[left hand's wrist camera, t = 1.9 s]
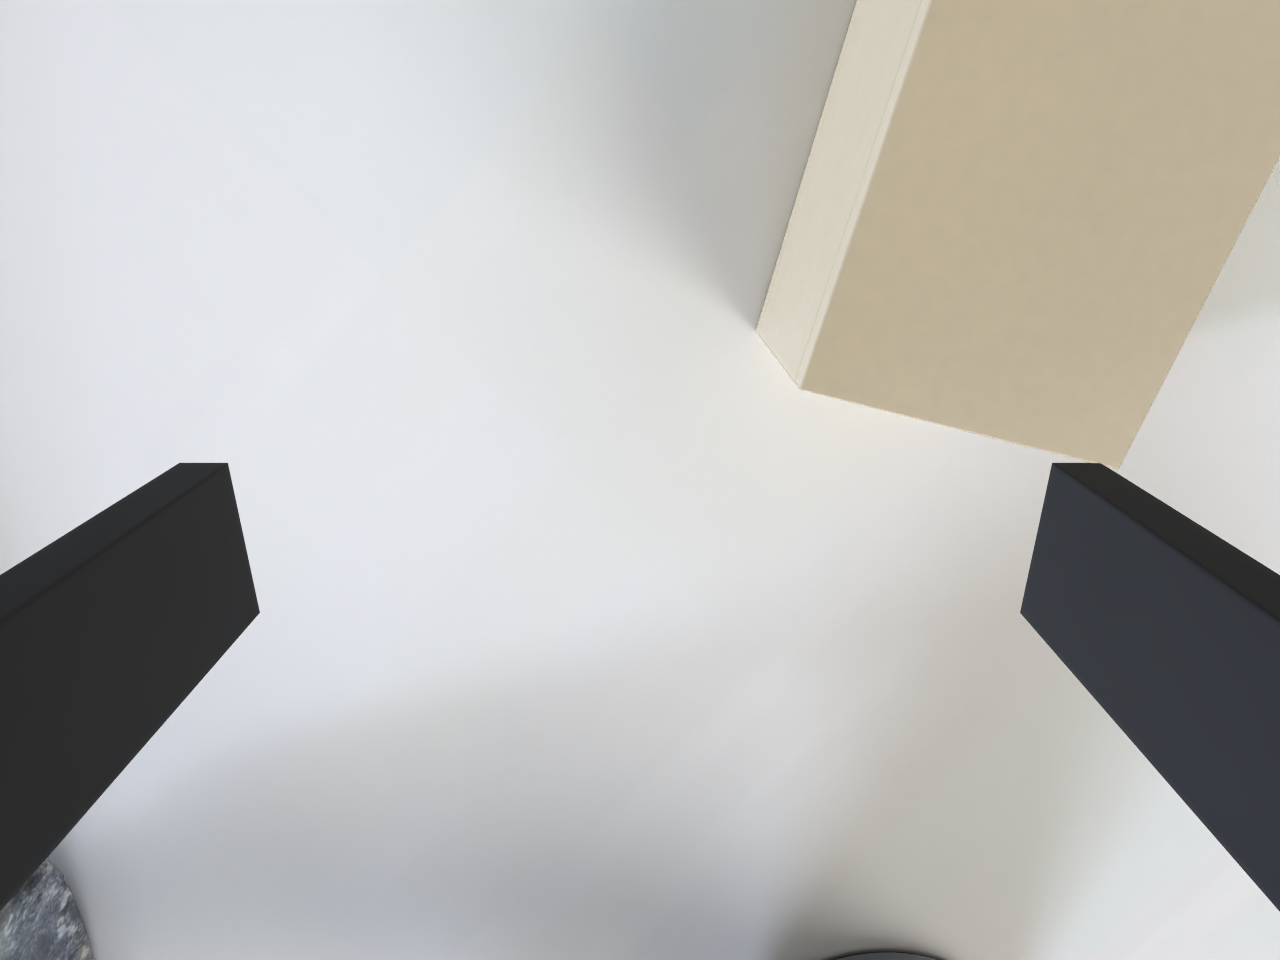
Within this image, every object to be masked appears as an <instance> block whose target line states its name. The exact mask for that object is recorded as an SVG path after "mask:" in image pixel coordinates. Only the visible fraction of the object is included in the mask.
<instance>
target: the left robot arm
mask: <svg viewBox="0 0 1280 960" xmlns="http://www.w3.org/2000/svg"><path fill="white" fill-rule="evenodd" d="M259 613H260V612H259V607H258V602H257V597H256V593H255V588H254V583H253V579H252V574H251V569H250V565H249V560H248V555H247V551H246V546H245V541H244V537H243V532H242V527H241V523H240V518H239V513H238V509H237V504H236V499H235V495H234V490H233V485H232V481H231V476H230V471H229V467H228V463H179V464H177V465H176V466H174V467H172V468H171V469H169V470H168V471H166V472H164V473H163V474H161V475H160V476H158V477H156V478H155V479H153V480H152V481H150V482H148V483H147V484H145V485H144V486H142V487H140V488H139V489H137V490H136V491H134V492H132V493H131V494H129V495H128V496H126V497H124V498H123V499H121V500H120V501H118V502H116V503H115V504H113V505H112V506H110V507H108V508H107V509H105V510H104V511H102V512H101V513H99V514H97V515H96V516H94V517H93V518H91V519H89V520H88V521H86V522H85V523H83V524H81V525H80V526H78V527H77V528H75V529H73V530H72V531H70V532H69V533H67V534H65V535H64V536H62V537H61V538H59V539H57V540H56V541H54V542H53V543H51V544H49V545H48V546H46V547H45V548H43V549H41V550H40V551H38V552H37V553H35V554H33V555H32V556H30V557H29V558H27V559H25V560H24V561H22V562H21V563H19V564H17V565H16V566H14V567H13V568H11V569H9V570H8V571H6V572H5V573H3V574H1V575H0V911H1V910H2V909H3V908H4V907H5V905H6V904H7V903H8V902H9V901H10V900H11V898H12V897H13V896H14V895H15V894H16V893H17V892H18V890H19V889H20V888H21V887H22V886H23V885H24V883H25V882H26V881H27V880H28V879H29V878H30V877H31V875H32V874H33V873H34V872H35V871H36V870H37V869H38V867H39V866H40V865H41V864H42V863H43V862H44V860H45V859H46V858H47V857H48V856H49V855H50V854H51V852H52V851H53V850H54V849H55V848H56V847H57V845H58V844H59V843H60V842H61V841H62V840H63V839H64V837H65V836H66V835H67V834H68V833H69V832H70V831H71V829H72V828H73V827H74V826H75V825H76V824H77V822H78V821H79V820H80V819H81V818H82V817H83V816H84V814H85V813H86V812H87V811H88V810H89V809H90V808H91V806H92V805H93V804H94V803H95V802H96V801H97V799H98V798H99V797H100V796H101V795H102V794H103V793H104V791H105V790H106V789H107V788H108V787H109V786H110V784H111V783H112V782H113V781H114V780H115V779H116V778H117V776H118V775H119V774H120V773H121V772H122V771H123V770H124V768H125V767H126V766H127V765H128V764H129V763H130V761H131V760H132V759H133V758H134V757H135V756H136V755H137V753H138V752H139V751H140V750H141V749H142V748H143V746H144V745H145V744H146V743H147V742H148V741H149V740H150V738H151V737H152V736H153V735H154V734H155V733H156V732H157V730H158V729H159V728H160V727H161V726H162V725H163V723H164V722H165V721H166V720H167V719H168V718H169V717H170V715H171V714H172V713H173V712H174V711H175V710H176V709H177V707H178V706H179V705H180V704H181V703H182V702H183V700H184V699H185V698H186V697H187V696H188V695H189V694H190V692H191V691H192V690H193V689H194V688H195V687H196V685H197V684H198V683H199V682H200V681H201V680H202V679H203V677H204V676H205V675H206V674H207V673H208V672H209V671H210V669H211V668H212V667H213V666H214V665H215V664H216V662H217V661H218V660H219V659H220V658H221V657H222V656H223V654H224V653H225V652H226V651H227V650H228V649H229V647H230V646H231V645H232V644H233V643H234V642H235V641H236V639H237V638H238V637H239V636H240V635H241V634H242V633H243V631H244V630H245V629H246V628H247V627H248V626H249V624H250V623H251V622H252V621H253V620H254V619H255V618H256V616H257V615H258V614H259ZM1020 613H1021V614H1022V615H1023V616H1024V618H1025V619H1026V620H1027V621H1028V622H1029V623H1030V624H1031V626H1032V627H1033V628H1034V629H1035V630H1036V631H1037V633H1038V634H1039V635H1040V636H1041V637H1042V638H1043V639H1044V641H1045V642H1046V643H1047V644H1048V645H1049V646H1050V647H1051V649H1052V650H1053V651H1054V652H1055V653H1056V654H1057V656H1058V657H1059V658H1060V659H1061V660H1062V661H1063V662H1064V664H1065V665H1066V666H1067V667H1068V668H1069V669H1070V671H1071V672H1072V673H1073V674H1074V675H1075V676H1076V677H1077V679H1078V680H1079V681H1080V682H1081V683H1082V684H1083V685H1084V687H1085V688H1086V689H1087V690H1088V691H1089V692H1090V694H1091V695H1092V696H1093V697H1094V698H1095V699H1096V700H1097V702H1098V703H1099V704H1100V705H1101V706H1102V707H1103V709H1104V710H1105V711H1106V712H1107V713H1108V714H1109V715H1110V717H1111V718H1112V719H1113V720H1114V721H1115V722H1116V723H1117V725H1118V726H1119V727H1120V728H1121V729H1122V730H1123V732H1124V733H1125V734H1126V735H1127V736H1128V737H1129V738H1130V740H1131V741H1132V742H1133V743H1134V744H1135V745H1136V746H1137V748H1138V749H1139V750H1140V751H1141V752H1142V753H1143V755H1144V756H1145V757H1146V758H1147V759H1148V760H1149V761H1150V763H1151V764H1152V765H1153V766H1154V767H1155V768H1156V770H1157V771H1158V772H1159V773H1160V774H1161V775H1162V776H1163V778H1164V779H1165V780H1166V781H1167V782H1168V783H1169V784H1170V786H1171V787H1172V788H1173V789H1174V790H1175V791H1176V793H1177V794H1178V795H1179V796H1180V797H1181V798H1182V799H1183V801H1184V802H1185V803H1186V804H1187V805H1188V806H1189V808H1190V809H1191V810H1192V811H1193V812H1194V813H1195V814H1196V816H1197V817H1198V818H1199V819H1200V820H1201V821H1202V822H1203V824H1204V825H1205V826H1206V827H1207V828H1208V829H1209V831H1210V832H1211V833H1212V834H1213V835H1214V836H1215V837H1216V839H1217V840H1218V841H1219V842H1220V843H1221V844H1222V845H1223V847H1224V848H1225V849H1226V850H1227V851H1228V852H1229V854H1230V855H1231V856H1232V857H1233V858H1234V859H1235V860H1236V862H1237V863H1238V864H1239V865H1240V866H1241V867H1242V869H1243V870H1244V871H1245V872H1246V873H1247V874H1248V875H1249V877H1250V878H1251V879H1252V880H1253V881H1254V882H1255V883H1256V885H1257V886H1258V887H1259V888H1260V889H1261V890H1262V892H1263V893H1264V894H1265V895H1266V896H1267V897H1268V898H1269V900H1270V901H1271V902H1272V903H1273V904H1274V905H1275V907H1276V908H1277V909H1278V910H1279V911H1280V575H1279V574H1277V573H1275V572H1274V571H1272V570H1271V569H1269V568H1267V567H1266V566H1264V565H1263V564H1261V563H1259V562H1258V561H1256V560H1255V559H1253V558H1251V557H1250V556H1248V555H1247V554H1245V553H1243V552H1242V551H1240V550H1239V549H1237V548H1235V547H1234V546H1232V545H1231V544H1229V543H1227V542H1226V541H1224V540H1223V539H1221V538H1219V537H1218V536H1216V535H1215V534H1213V533H1211V532H1210V531H1208V530H1207V529H1205V528H1203V527H1202V526H1200V525H1199V524H1197V523H1195V522H1194V521H1192V520H1191V519H1189V518H1187V517H1186V516H1184V515H1183V514H1181V513H1179V512H1178V511H1176V510H1175V509H1173V508H1172V507H1170V506H1168V505H1167V504H1165V503H1164V502H1162V501H1160V500H1159V499H1157V498H1156V497H1154V496H1152V495H1151V494H1149V493H1148V492H1146V491H1144V490H1143V489H1141V488H1140V487H1138V486H1136V485H1135V484H1133V483H1132V482H1130V481H1128V480H1127V479H1125V478H1124V477H1122V476H1120V475H1119V474H1117V473H1116V472H1114V471H1112V470H1111V469H1109V468H1108V467H1106V466H1104V465H1103V464H1101V463H1052V467H1051V471H1050V476H1049V481H1048V485H1047V490H1046V495H1045V499H1044V504H1043V509H1042V513H1041V518H1040V523H1039V527H1038V532H1037V537H1036V541H1035V546H1034V551H1033V555H1032V560H1031V565H1030V569H1029V574H1028V579H1027V583H1026V588H1025V593H1024V598H1023V602H1022V607H1021V612H1020ZM836 960H936V959H933V958H930V957H925V956H920V955H914V954H907V953H893V952H884V953H867V954H859V955H853V956H848V957H844V958H839V959H836Z"/></svg>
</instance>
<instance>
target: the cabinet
mask: <svg viewBox="0 0 1280 960" xmlns="http://www.w3.org/2000/svg"><path fill="white" fill-rule="evenodd" d="M1279 156H1280V0H857V1H856V4H855V8H854V11H853V14H852V17H851V21H850V24H849V27H848V31H847V34H846V37H845V40H844V44H843V47H842V50H841V53H840V57H839V60H838V63H837V67H836V70H835V73H834V76H833V80H832V83H831V86H830V89H829V93H828V96H827V99H826V102H825V106H824V109H823V112H822V116H821V119H820V122H819V125H818V129H817V132H816V135H815V138H814V142H813V145H812V148H811V152H810V155H809V158H808V161H807V165H806V168H805V171H804V174H803V178H802V181H801V184H800V187H799V191H798V194H797V197H796V201H795V204H794V207H793V210H792V214H791V217H790V220H789V223H788V227H787V230H786V233H785V237H784V240H783V243H782V246H781V250H780V253H779V256H778V259H777V263H776V266H775V269H774V272H773V276H772V279H771V282H770V286H769V289H768V292H767V295H766V299H765V302H764V305H763V308H762V312H761V315H760V318H759V321H758V325H757V328H756V333H757V334H758V335H759V337H760V338H761V340H762V341H763V342H764V344H765V345H766V346H767V348H768V349H769V350H770V352H771V353H772V354H773V356H774V357H775V358H776V359H777V361H778V362H779V363H780V365H781V366H782V367H783V369H784V370H785V371H786V373H787V374H788V375H789V377H790V378H791V379H792V381H793V382H794V383H795V384H796V385H797V387H798V388H799V389H800V390H801V391H805V392H809V393H813V394H817V395H821V396H825V397H830V398H834V399H838V400H842V401H846V402H850V403H854V404H858V405H862V406H866V407H870V408H874V409H878V410H882V411H886V412H890V413H894V414H898V415H902V416H906V417H910V418H914V419H918V420H922V421H926V422H930V423H934V424H938V425H942V426H946V427H950V428H954V429H958V430H962V431H966V432H970V433H974V434H978V435H982V436H986V437H990V438H994V439H998V440H1002V441H1006V442H1010V443H1014V444H1018V445H1022V446H1026V447H1030V448H1034V449H1038V450H1042V451H1046V452H1050V453H1054V454H1058V455H1062V456H1066V457H1070V458H1074V459H1078V460H1082V461H1086V462H1090V463H1101V464H1103V465H1104V466H1107V467H1111V468H1115V469H1119V468H1120V466H1121V464H1122V462H1123V460H1124V458H1125V456H1126V454H1127V452H1128V450H1129V448H1130V446H1131V444H1132V442H1133V440H1134V438H1135V437H1136V435H1137V433H1138V431H1139V429H1140V427H1141V425H1142V423H1143V421H1144V419H1145V417H1146V415H1147V413H1148V411H1149V409H1150V407H1151V405H1152V403H1153V402H1154V400H1155V398H1156V396H1157V394H1158V392H1159V390H1160V388H1161V386H1162V384H1163V382H1164V380H1165V378H1166V376H1167V374H1168V372H1169V370H1170V368H1171V367H1172V365H1173V363H1174V361H1175V359H1176V357H1177V355H1178V353H1179V351H1180V349H1181V347H1182V345H1183V343H1184V341H1185V339H1186V337H1187V335H1188V333H1189V332H1190V330H1191V328H1192V326H1193V324H1194V322H1195V320H1196V318H1197V316H1198V314H1199V312H1200V310H1201V308H1202V306H1203V304H1204V302H1205V300H1206V298H1207V297H1208V295H1209V293H1210V291H1211V289H1212V287H1213V285H1214V283H1215V281H1216V279H1217V277H1218V275H1219V273H1220V271H1221V269H1222V267H1223V265H1224V263H1225V261H1226V260H1227V258H1228V256H1229V254H1230V252H1231V250H1232V248H1233V246H1234V244H1235V242H1236V240H1237V238H1238V236H1239V234H1240V232H1241V230H1242V228H1243V226H1244V225H1245V223H1246V221H1247V219H1248V217H1249V215H1250V213H1251V211H1252V209H1253V207H1254V205H1255V203H1256V201H1257V199H1258V197H1259V195H1260V193H1261V191H1262V190H1263V188H1264V186H1265V184H1266V182H1267V180H1268V178H1269V176H1270V174H1271V172H1272V170H1273V168H1274V166H1275V164H1276V162H1277V160H1278V158H1279Z"/></svg>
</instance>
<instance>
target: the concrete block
mask: <svg viewBox="0 0 1280 960" xmlns="http://www.w3.org/2000/svg"><path fill="white" fill-rule="evenodd" d="M0 960H93V959H92V953H91V947H90V942H89V938H88V935H87V933H86V931H85V929H84V926H83V924H82V921H81V918H80V915H79V912H78V909H77V907H76V904H75V902H74V899H73V897H72V893H71V891H70V890H69V888H68V887H67V885H66V883H65V881H64V877H63V874H62V873H61V872H60V870H59V869H58V868H57V867H56V866H55V865H53V864H52V863H51V862H49V861H45V860H44V862H43V863H42V864H41V865H40V866H39V867H38V869H37V870H36V871H35V872H34V873H33V874H32V875H31V877H30V878H29V879H28V880H27V881H26V882H25V883H24V885H23V886H22V887H21V888H20V889H19V890H18V892H17V893H16V894H15V895H14V896H13V897H12V898H11V900H10V901H9V902H8V903H7V904H6V905H5V907H4V908H3V909H2V910H1V911H0Z"/></svg>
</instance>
